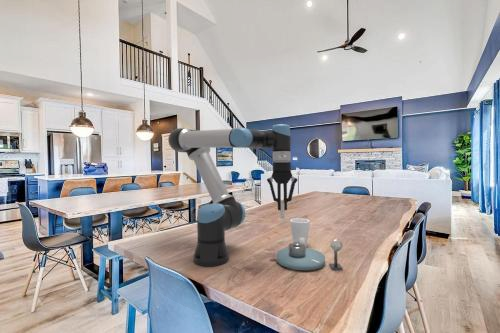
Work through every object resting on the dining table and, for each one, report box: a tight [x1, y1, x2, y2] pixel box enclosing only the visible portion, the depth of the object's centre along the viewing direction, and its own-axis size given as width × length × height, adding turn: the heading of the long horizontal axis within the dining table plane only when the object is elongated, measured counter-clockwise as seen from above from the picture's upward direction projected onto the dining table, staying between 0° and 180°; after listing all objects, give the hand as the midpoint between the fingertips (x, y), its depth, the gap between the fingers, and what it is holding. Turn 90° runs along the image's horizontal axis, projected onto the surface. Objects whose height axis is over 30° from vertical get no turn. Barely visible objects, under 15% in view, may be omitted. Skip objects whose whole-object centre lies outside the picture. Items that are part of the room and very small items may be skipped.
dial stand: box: [328, 238, 343, 271], centre depth 103 cm, size 4×4×12 cm
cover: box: [288, 242, 307, 258], centre depth 109 cm, size 7×7×5 cm
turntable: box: [276, 238, 326, 271], centre depth 109 cm, size 20×20×7 cm
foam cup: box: [289, 217, 311, 247], centre depth 128 cm, size 10×9×13 cm
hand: (282, 217), depth 109 cm, fingers closed
